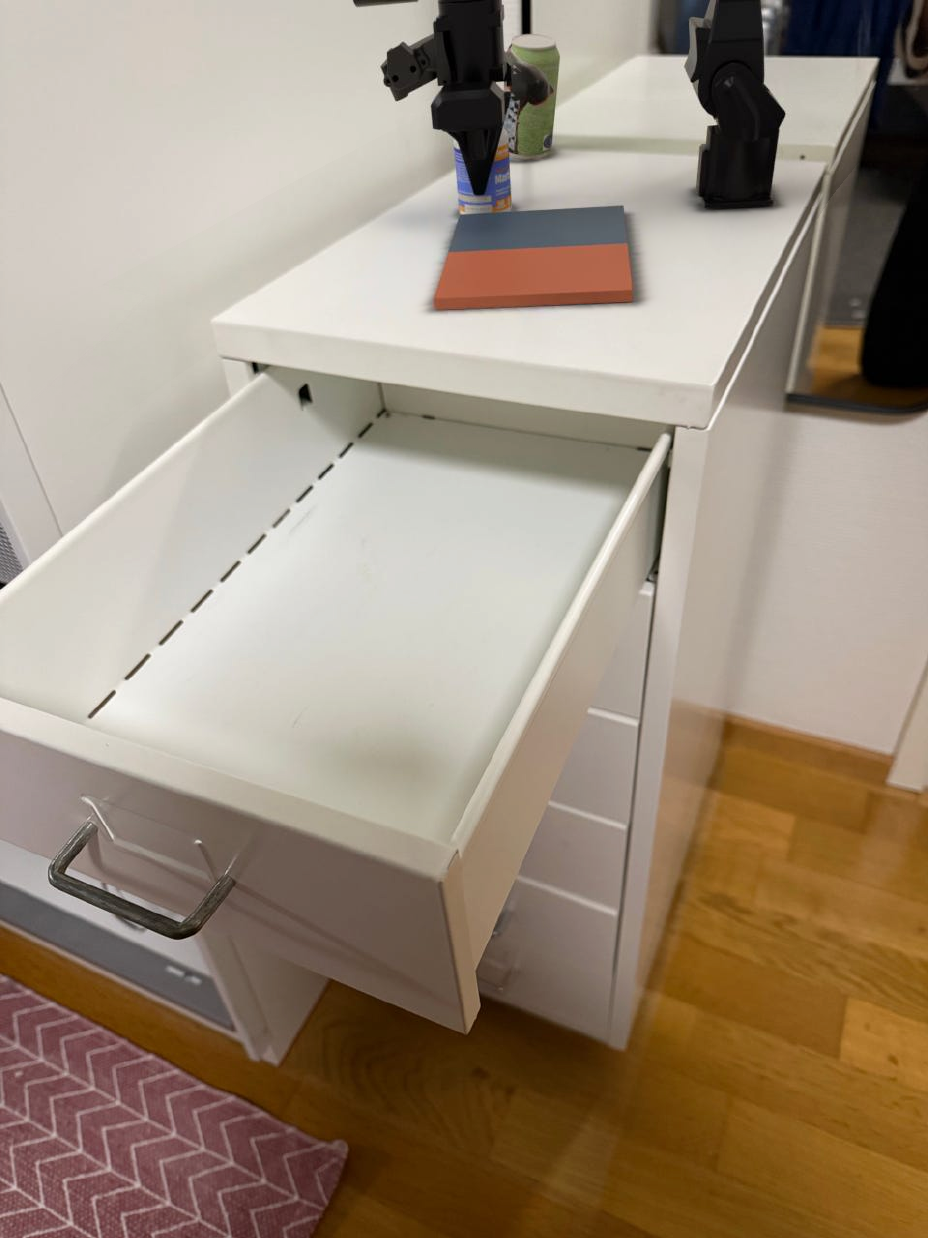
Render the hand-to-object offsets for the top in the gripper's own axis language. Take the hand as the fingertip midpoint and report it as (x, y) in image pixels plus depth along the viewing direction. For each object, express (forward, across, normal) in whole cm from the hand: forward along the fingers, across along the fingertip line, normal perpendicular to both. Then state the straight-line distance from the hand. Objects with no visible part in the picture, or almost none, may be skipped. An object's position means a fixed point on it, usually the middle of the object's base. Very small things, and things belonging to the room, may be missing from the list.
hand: (481, 185), depth 88 cm
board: (+2, +14, +6) cm, 15 cm away
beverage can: (+3, -20, +4) cm, 21 cm away
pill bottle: (+3, 0, 0) cm, 3 cm away
